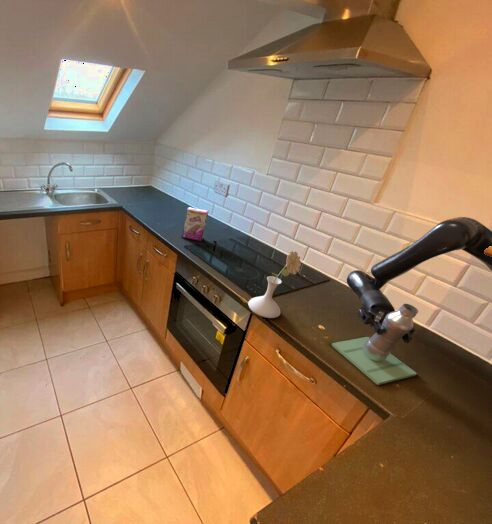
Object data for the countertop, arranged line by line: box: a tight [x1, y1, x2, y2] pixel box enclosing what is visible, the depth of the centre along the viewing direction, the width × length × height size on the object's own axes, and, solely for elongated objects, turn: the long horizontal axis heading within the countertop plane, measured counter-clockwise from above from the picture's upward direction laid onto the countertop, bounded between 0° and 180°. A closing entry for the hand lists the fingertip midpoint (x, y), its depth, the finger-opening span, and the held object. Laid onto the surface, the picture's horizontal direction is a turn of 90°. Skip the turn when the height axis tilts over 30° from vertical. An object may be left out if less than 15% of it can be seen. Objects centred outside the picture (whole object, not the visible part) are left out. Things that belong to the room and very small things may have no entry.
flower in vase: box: [247, 250, 302, 319], centre depth 105 cm, size 13×11×25 cm
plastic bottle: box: [363, 303, 419, 361], centre depth 88 cm, size 6×7×20 cm
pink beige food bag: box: [181, 206, 210, 242], centre depth 162 cm, size 11×5×16 cm, turn 74°
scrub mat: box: [331, 336, 418, 386], centre depth 93 cm, size 16×16×1 cm
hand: (394, 336), depth 85 cm, fingers closed on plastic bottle, 6 cm apart
